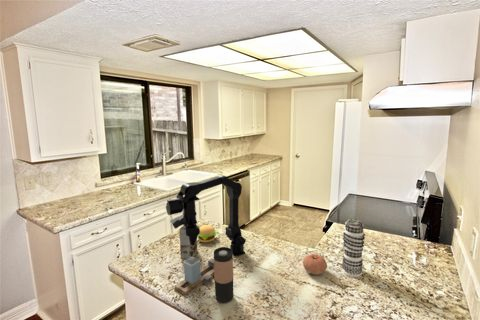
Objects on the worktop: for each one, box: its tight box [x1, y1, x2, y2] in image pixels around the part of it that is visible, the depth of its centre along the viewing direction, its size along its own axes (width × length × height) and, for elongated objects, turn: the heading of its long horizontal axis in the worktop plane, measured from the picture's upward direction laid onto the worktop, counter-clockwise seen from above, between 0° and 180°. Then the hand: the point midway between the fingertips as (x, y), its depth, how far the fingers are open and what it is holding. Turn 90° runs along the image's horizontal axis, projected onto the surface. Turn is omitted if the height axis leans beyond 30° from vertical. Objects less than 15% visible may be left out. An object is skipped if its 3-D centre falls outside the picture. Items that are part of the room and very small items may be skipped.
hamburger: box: [197, 224, 217, 244], centre depth 159 cm, size 12×12×9 cm
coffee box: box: [179, 223, 199, 260], centre depth 141 cm, size 9×6×16 cm
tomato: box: [302, 253, 328, 276], centre depth 123 cm, size 11×11×8 cm
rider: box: [183, 256, 202, 285], centre depth 116 cm, size 5×5×11 cm
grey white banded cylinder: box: [341, 218, 366, 278], centre depth 121 cm, size 9×9×25 cm
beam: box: [174, 257, 214, 296], centre depth 119 cm, size 24×9×4 cm, turn 144°
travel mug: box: [213, 246, 234, 304], centre depth 105 cm, size 8×8×20 cm
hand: (191, 241), depth 126 cm, fingers open, 9 cm apart
